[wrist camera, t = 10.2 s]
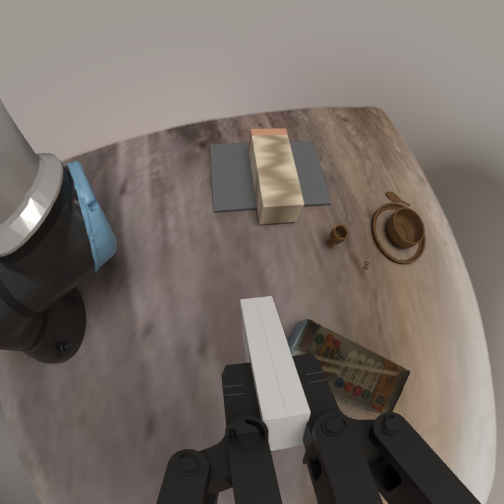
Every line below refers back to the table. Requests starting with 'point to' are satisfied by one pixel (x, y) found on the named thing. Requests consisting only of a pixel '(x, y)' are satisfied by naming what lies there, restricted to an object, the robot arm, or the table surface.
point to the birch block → (274, 176)
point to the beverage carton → (351, 367)
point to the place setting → (392, 229)
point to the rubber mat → (241, 181)
